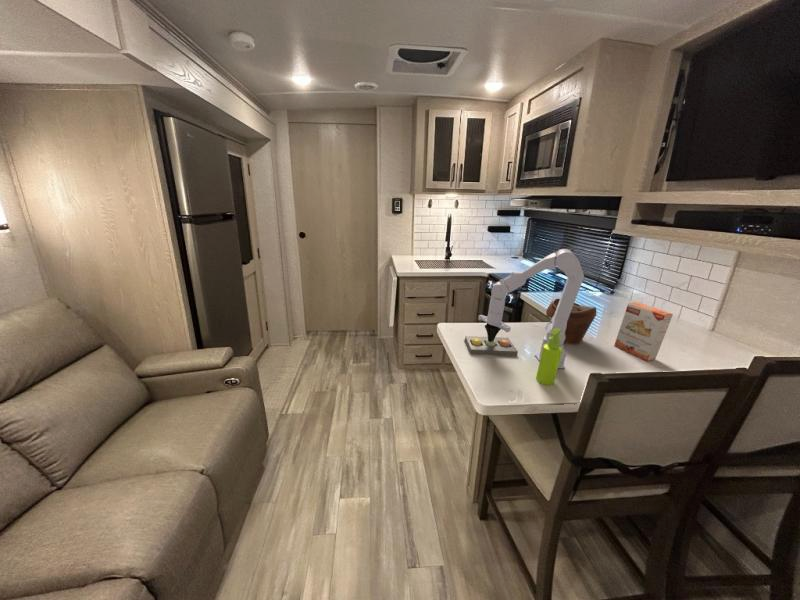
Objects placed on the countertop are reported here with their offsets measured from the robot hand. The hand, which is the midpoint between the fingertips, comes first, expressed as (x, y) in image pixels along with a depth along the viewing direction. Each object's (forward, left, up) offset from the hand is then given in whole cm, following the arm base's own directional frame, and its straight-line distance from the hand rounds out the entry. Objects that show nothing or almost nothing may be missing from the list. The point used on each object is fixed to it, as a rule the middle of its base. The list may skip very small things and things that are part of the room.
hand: (490, 340), depth 127 cm
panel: (0, 0, -3) cm, 3 cm away
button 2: (0, -6, -3) cm, 7 cm away
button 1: (0, +6, -3) cm, 7 cm away
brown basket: (+13, -39, -3) cm, 41 cm away
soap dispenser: (-23, -13, -3) cm, 27 cm away
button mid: (0, 0, -3) cm, 3 cm away
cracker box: (+1, -63, -3) cm, 63 cm away
